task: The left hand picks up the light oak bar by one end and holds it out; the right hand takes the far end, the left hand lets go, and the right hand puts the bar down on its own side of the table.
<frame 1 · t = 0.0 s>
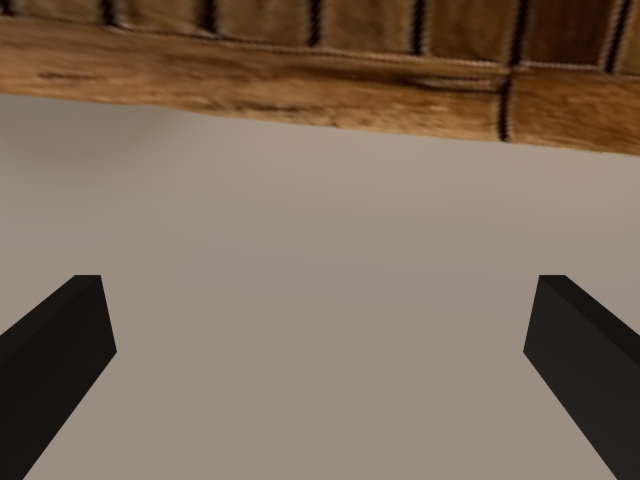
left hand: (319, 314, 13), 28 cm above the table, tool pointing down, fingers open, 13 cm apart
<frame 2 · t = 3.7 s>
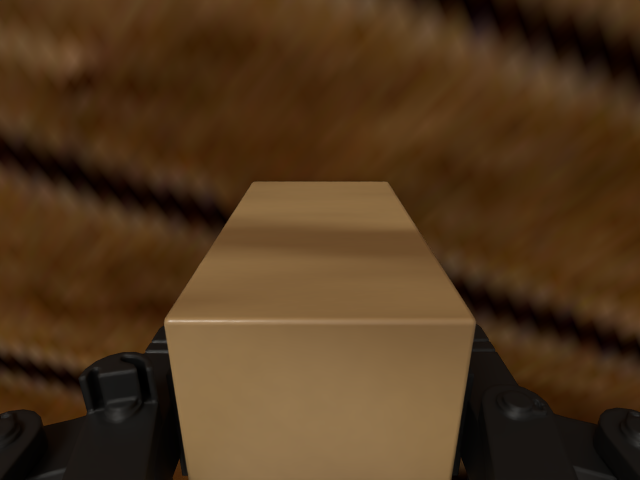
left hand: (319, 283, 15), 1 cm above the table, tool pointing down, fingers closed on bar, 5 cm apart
bar: (320, 442, 18), on the table, touching left hand
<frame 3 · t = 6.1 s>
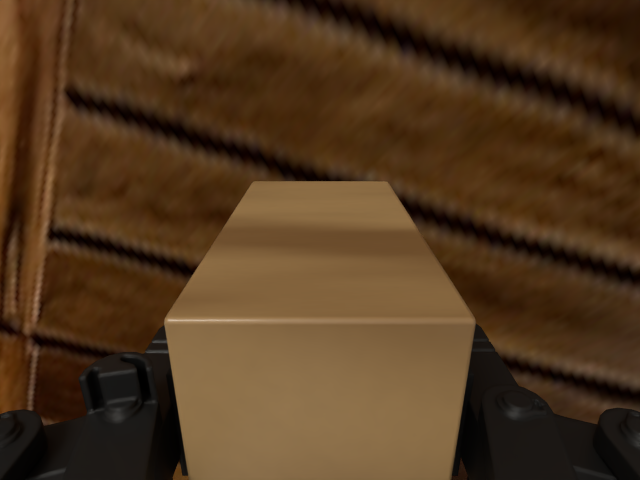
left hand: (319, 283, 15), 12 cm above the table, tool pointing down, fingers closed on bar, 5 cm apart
bar: (320, 441, 18), point 11 cm above the table, touching left hand
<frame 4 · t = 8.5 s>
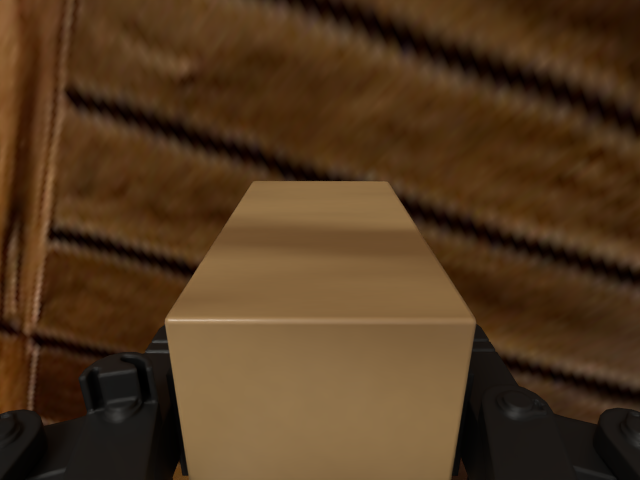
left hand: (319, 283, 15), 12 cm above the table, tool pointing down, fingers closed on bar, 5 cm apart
bar: (319, 441, 18), point 11 cm above the table, touching left hand, right hand
when the left hand's fingers open (12 cm above the table, at t = 9.0 s): bar stays where it is, held by the right hand.
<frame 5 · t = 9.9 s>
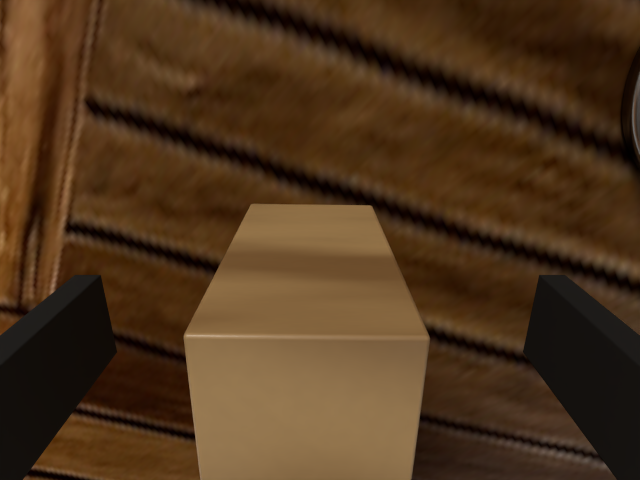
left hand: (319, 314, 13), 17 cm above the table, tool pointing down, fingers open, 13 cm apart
bar: (309, 439, 20), point 13 cm above the table, touching right hand
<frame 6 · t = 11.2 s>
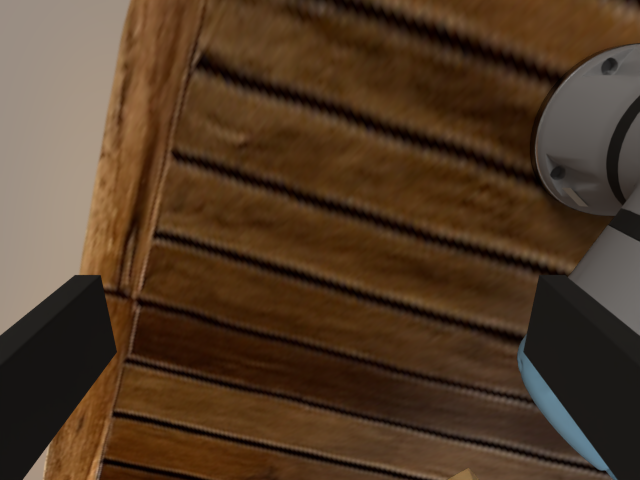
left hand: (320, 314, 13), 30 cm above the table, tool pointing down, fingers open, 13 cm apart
when the right hand's fingers open (2 cm above the table, at t = 14.4 s): bar drops 1 cm, on the table.
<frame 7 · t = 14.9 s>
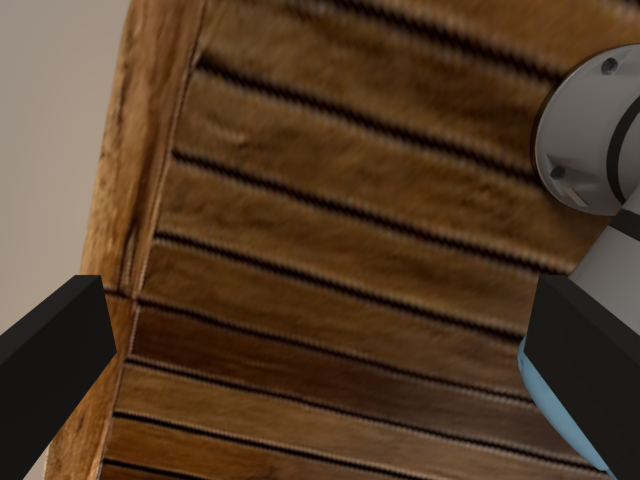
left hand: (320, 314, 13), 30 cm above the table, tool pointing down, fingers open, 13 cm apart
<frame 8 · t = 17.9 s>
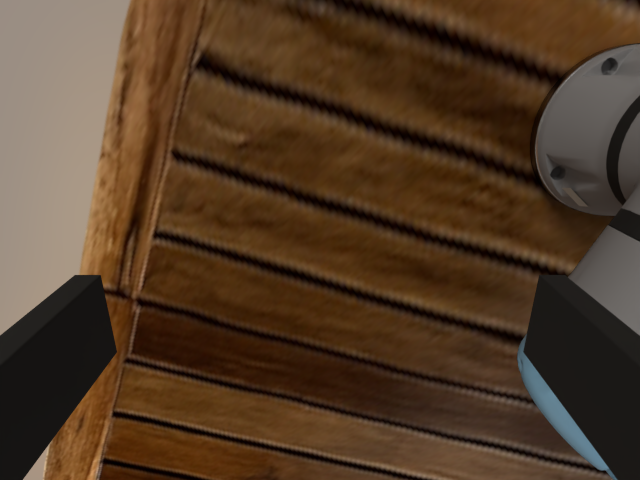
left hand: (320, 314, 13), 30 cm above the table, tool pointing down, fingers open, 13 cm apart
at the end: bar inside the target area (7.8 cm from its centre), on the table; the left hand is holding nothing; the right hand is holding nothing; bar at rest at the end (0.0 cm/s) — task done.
